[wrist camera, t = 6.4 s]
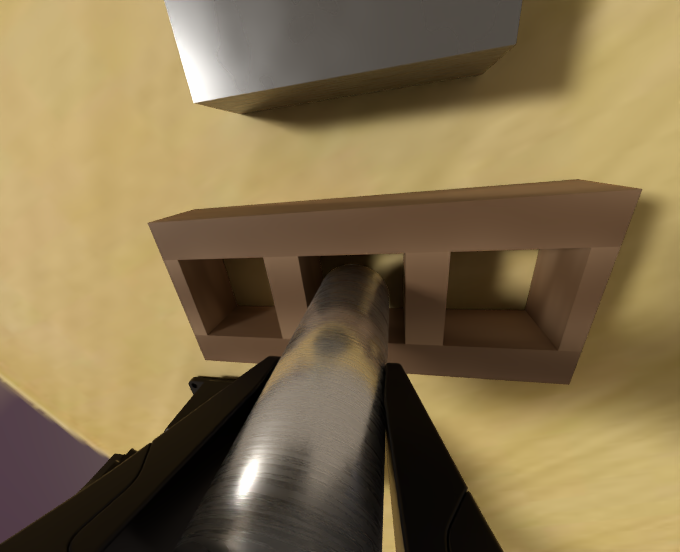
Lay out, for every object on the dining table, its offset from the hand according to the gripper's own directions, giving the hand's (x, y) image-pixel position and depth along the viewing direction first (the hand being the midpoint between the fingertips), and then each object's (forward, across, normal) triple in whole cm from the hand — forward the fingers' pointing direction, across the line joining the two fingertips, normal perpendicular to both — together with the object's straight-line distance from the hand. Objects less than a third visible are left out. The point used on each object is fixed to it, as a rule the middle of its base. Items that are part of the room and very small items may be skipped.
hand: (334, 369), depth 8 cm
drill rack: (+7, 0, 0) cm, 7 cm away
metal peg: (+4, 0, 0) cm, 4 cm away
